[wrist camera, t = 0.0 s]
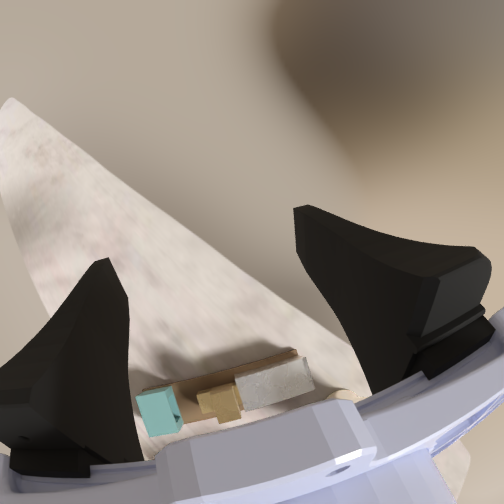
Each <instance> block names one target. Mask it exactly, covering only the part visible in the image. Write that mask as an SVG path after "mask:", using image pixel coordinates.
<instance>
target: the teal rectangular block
mask: <svg viewBox="0 0 504 504" xmlns="http://www.w3.org/2000/svg"><path fill="white" fill-rule="evenodd" d="M135 398H136V401H137V404H138V407H139V410H140V413H141V416H142V419H143V421H144V424H145V427H146V430H147V432H148V435H149V437H154V436H160V435H166V434H172V433H177V432H179V431H180V429H181V427H182V425H183V423H184V422H183V419H182V416H181V413H180V410H179V408H178V405H177V402H176V398H175V395H174V392H173V389H172V386H167V387H163V388H158V389H153V390H148V391H144V392H142V393H141V394H139V395H138V396H136V397H135Z"/></svg>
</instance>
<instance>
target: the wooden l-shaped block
mask: <svg viewBox="0 0 504 504" xmlns="http://www.w3.org/2000/svg"><path fill="white" fill-rule="evenodd" d="M196 396H197V399H198V402H199V405H200V408H201V411H202V414H205V413H209V412H213V411H215V413H216V416H217V419H218V422H219V424H221V423H225V422H229V421H233V420H237V419H241V412H240V407H239V405H240V404H243V403H242V400H241V397H240V394H239V391H238V388H237V385H236V382H234V383H228V384H225V385H221V386H217V387H213V388H211V389H207V390H203V391H198V393H197V395H196Z"/></svg>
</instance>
